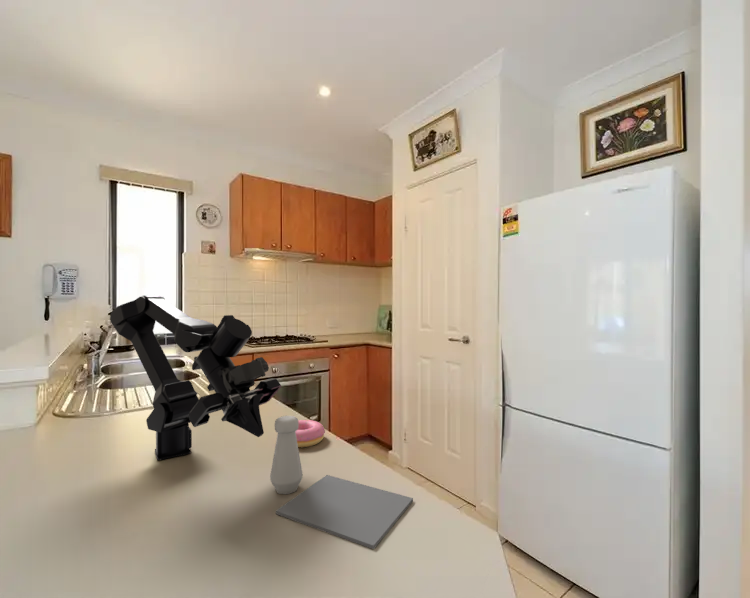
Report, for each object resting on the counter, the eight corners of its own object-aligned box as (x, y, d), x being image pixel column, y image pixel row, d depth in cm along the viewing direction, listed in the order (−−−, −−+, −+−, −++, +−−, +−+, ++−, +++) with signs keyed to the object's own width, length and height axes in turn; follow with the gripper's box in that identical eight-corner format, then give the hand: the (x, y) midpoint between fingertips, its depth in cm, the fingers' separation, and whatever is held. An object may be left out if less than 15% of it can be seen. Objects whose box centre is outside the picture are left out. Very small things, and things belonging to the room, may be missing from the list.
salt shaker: (273, 500, 65) (273, 424, 65) (267, 485, 70) (266, 415, 70) (306, 491, 68) (306, 419, 68) (298, 478, 73) (297, 411, 73)
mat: (275, 513, 61) (275, 510, 61) (326, 477, 73) (326, 474, 73) (373, 549, 52) (373, 545, 52) (412, 501, 64) (412, 498, 64)
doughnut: (309, 429, 100) (309, 414, 100) (334, 441, 92) (334, 424, 92) (271, 440, 92) (271, 423, 92) (294, 454, 84) (294, 435, 84)
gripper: (198, 352, 66) (244, 424, 61) (274, 341, 82) (315, 397, 77) (171, 391, 70) (211, 463, 65) (248, 373, 86) (286, 429, 81)
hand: (261, 435), depth 72 cm, fingers closed
